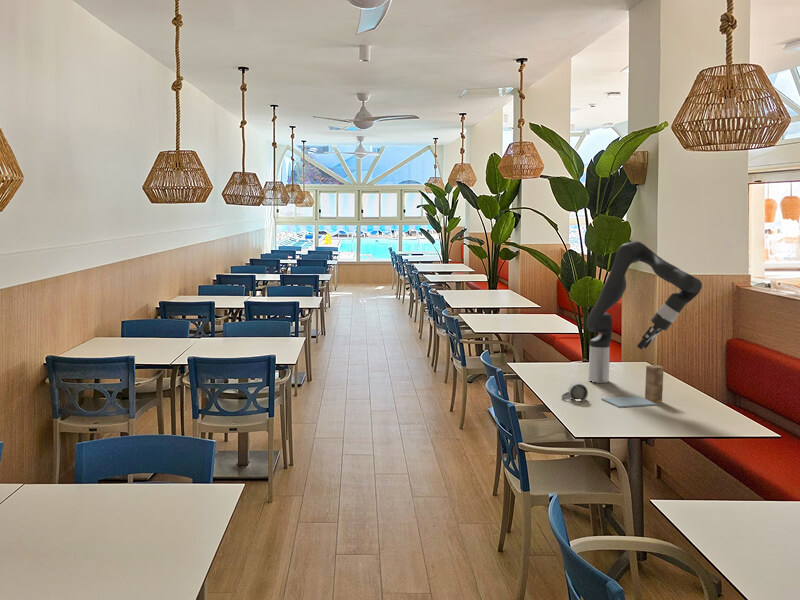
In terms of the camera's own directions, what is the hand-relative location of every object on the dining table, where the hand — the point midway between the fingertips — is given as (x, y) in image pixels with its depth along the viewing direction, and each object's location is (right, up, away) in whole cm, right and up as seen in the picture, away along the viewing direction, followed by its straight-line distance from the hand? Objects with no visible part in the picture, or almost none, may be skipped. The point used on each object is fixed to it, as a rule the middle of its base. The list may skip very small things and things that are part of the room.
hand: (641, 347), depth 304 cm
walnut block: (+7, -23, +6) cm, 25 cm away
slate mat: (-4, -24, +3) cm, 24 cm away
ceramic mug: (-27, -23, +7) cm, 36 cm away
